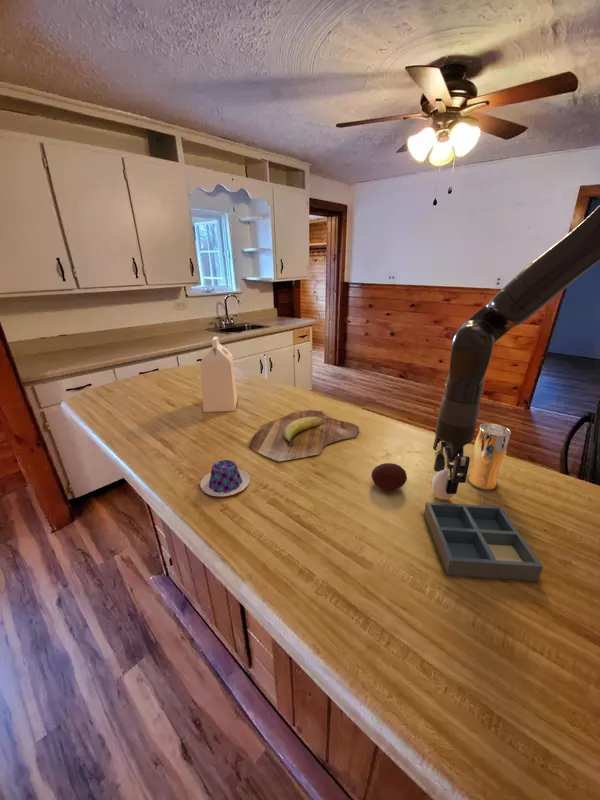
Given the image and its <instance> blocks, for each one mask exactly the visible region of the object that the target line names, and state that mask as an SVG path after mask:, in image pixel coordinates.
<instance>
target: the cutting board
mask: <svg viewBox="0 0 600 800" xmlns="http://www.w3.org/2000/svg"><path fill="white" fill-rule="evenodd" d="M359 431H360V427H359V426H358V425H357V424H354V423H352V422H348V421H343V420H341V419H340V420H339V419H336V418H334V417H331V416H328V415H326V414H325V413H323V411H322V410H313V409H309V410H301V411H294V412H290V413H289V414H287V415H285V416H283V417H279V418H277V419H274V420H271V421H268V422H266V423H264V424H262V425H261V427H260V428H259V430H258V431H257V432H256V433H254V435H253V436H252V437H251V438H252V439H251V441H250V442H249V447H250V449H251V450H253V451H254V452H256V453H259V454H260V455H262V456H263V457H266V458H268V459H271V460H273V461H277V462H285V461H290V460H292V461H293V460H297V459H302V458H308V457H313V456H320V454H321V453H322V451H323V449H324V447H326V446H327V445H330V444H334V443H336V442H338V441H341V440H346V439H347V440H348V439H353V438H356V437H357V435H358V432H359Z"/></svg>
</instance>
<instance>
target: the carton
mask: <svg viewBox="0 0 600 800" xmlns="http://www.w3.org/2000/svg"><path fill="white" fill-rule="evenodd" d="M423 516H424V519H425V521H426V524H427V526H428V530H429V532H430V534H431V537H432V540H433V542H434V545H435V547H436V550H437V553H438V556H439V558H440V561H441V563H442V566H443V568H444V572H445V574H446V576H459V577H473V578H485V579H486V578H487V579H488V578H489V579H500V580H515V581H516V580H518V581H530V582H539V580H540V577H541V574H542V571H543V569H544V565H543V564H542V563H541V561H540V560H539V559H538V557H537V555H536V554H535V553H534V551H533V550H532V549H531V548H530V546H529V544H528V543H527V542H526V540H525V538H523V536H522V534H521V533H520V532H519V531H518V528H516V526H515V524H514V523H513V521H512V520H511V519H510V517H509V516H508V515H507V514H506V512H505V511H504V509H503V508H502V507H501V506H500V505H499V506H498V505H486V504H485V505H484V504H466V503H465V504H464V503H445V502H444V503H443V502H431V501H430V502H425V505H424V513H423Z"/></svg>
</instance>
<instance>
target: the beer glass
mask: <svg viewBox="0 0 600 800" xmlns="http://www.w3.org/2000/svg"><path fill="white" fill-rule="evenodd" d="M511 435H512V430H510V428H508V427H505V426H503V425H500V424H499V423H498V424H496V423H492V422H490V423H489V422H485V423H481V424H480V425H479V427H478V430H477V433H476V436H475V440H474V445H473V466H472V470H471V473H470V474H469V476H468V482H469V483H470V484H471V485H473V486H474V487H475V488H478V489H481V490H485V491H487V490H493V489H495V488H496V486H497V475H498V472H499V470H500V467H502V464H503V463H504V460H505V458H506V455H507V453H508V450H509V446H510V441H511Z"/></svg>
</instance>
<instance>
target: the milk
mask: <svg viewBox="0 0 600 800" xmlns="http://www.w3.org/2000/svg"><path fill="white" fill-rule="evenodd" d="M211 343H212V344H211V345H212V346H211V348H210V349H208V351H206V353H205V354H204V355H203V356H202V359H201V360H200V377H201V378H200V379H201V395H202V396H201V397H202V411H203V413H211V412H214V413H215V412H216V413H217V412H235V411H236V407H237V402H238V394H237V393H238V392H237V385H236V375H235V374H236V373H235V366H234V364H235V363H234V355H233V354H232V352H231V351H229V349H228V348H227V347H225V346H223V345H222V344H221V343H220V340H219V336H213V338H212V340H211Z"/></svg>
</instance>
